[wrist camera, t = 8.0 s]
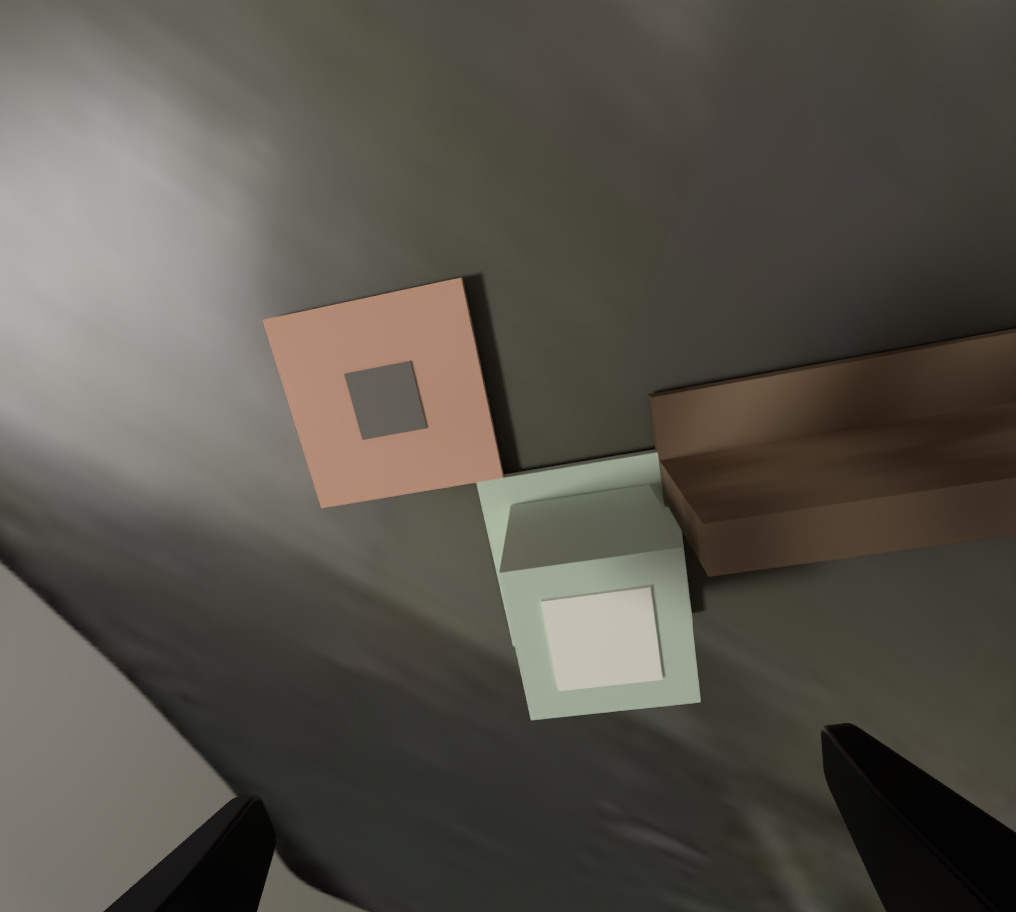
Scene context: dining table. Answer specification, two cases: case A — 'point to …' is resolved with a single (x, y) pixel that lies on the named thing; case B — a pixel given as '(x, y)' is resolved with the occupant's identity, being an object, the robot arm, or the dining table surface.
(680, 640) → the sage block
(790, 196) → the dining table surface
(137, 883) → the robot arm
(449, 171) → the dining table surface
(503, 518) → the sage pad
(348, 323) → the terracotta pad
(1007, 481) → the walnut screen
